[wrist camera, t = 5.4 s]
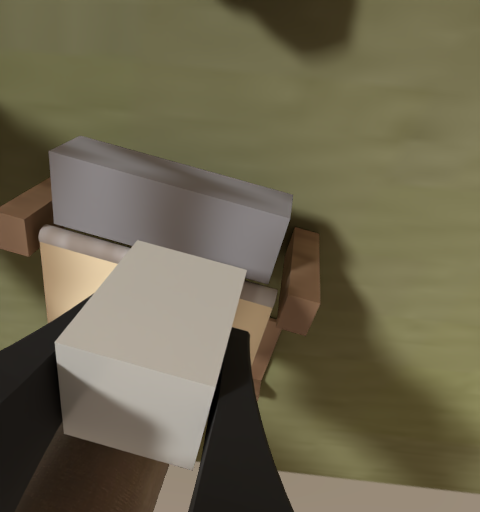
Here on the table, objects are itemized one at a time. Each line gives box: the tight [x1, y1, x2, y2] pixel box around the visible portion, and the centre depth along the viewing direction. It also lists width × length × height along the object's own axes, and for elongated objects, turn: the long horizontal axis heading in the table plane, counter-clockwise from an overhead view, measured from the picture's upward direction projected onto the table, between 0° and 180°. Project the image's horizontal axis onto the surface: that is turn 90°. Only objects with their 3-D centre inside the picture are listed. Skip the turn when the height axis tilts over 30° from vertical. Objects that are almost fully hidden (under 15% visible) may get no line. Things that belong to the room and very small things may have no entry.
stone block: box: [55, 240, 247, 470], centre depth 12 cm, size 4×4×5 cm
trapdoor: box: [38, 136, 293, 366], centre depth 18 cm, size 11×10×3 cm
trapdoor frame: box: [0, 177, 321, 401], centre depth 22 cm, size 15×14×6 cm
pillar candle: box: [15, 422, 169, 512], centre depth 26 cm, size 10×10×15 cm
